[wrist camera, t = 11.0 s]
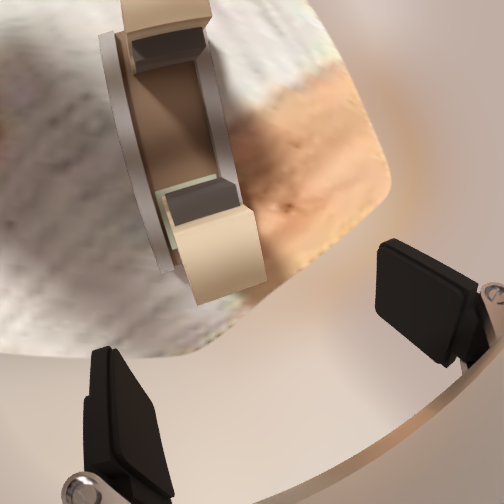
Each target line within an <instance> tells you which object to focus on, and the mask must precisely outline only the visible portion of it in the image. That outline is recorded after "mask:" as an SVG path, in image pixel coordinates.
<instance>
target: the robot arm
mask: <svg viewBox="0 0 504 504" xmlns="http://www.w3.org/2000/svg"><path fill="white" fill-rule="evenodd" d="M477 288H478V283H476V282H475V281H473V280H471V279H469V278H468V277H466V276H464V275H463V274H461V273H459V272H457V271H455V270H453V269H452V268H450V267H448V266H446V265H444V264H443V263H441V262H439V261H437V260H435V259H434V258H432V257H430V256H428V255H426V254H424V253H422V252H420V251H419V250H417V249H415V248H413V247H411V246H409V245H407V244H405V243H403V242H401V241H399V240H397V239H394V238H393V239H390V240H388V241H386V242H383V243H381V244H380V246H379V249H378V251H377V277H376V298H375V309H376V312H377V314H378V315H379V316H380V317H381V318H383V319H384V320H385V321H386V322H388V323H389V324H390V325H391V326H393V327H394V328H395V329H396V330H397V331H399V332H400V333H401V334H402V335H403V336H405V337H406V338H407V339H409V341H411V342H412V343H413V344H414V345H415V346H417V347H418V348H419V349H420V350H421V351H423V352H424V353H425V354H426V355H428V356H429V357H430V358H431V359H433V360H434V361H435V362H436V363H438V364H442V365H443V366H444V367H445V368H447V367H448V366H449V365H450V364H452V363H453V362H454V361H455V359H456V357H459V358H460V363H461V369H462V376H461V377H460V378H459V379H458V380H456V381H455V382H454V383H453V384H452V385H451V386H450V387H449V388H447V389H446V390H445V391H444V392H443V393H442V394H440V395H439V396H438V397H437V398H436V399H434V400H433V401H432V402H431V403H429V404H428V405H427V406H426V407H424V408H423V409H422V410H421V411H419V412H418V413H417V414H416V415H414V416H413V417H412V418H410V419H409V420H407V421H406V422H405V423H403V424H402V425H401V426H399V427H398V428H396V429H395V430H393V431H392V432H391V433H389V434H388V435H386V436H385V437H383V438H382V439H380V440H379V441H377V442H375V443H374V444H372V445H371V446H369V447H368V448H366V449H364V450H363V451H361V452H360V453H358V454H356V455H354V456H353V457H351V458H349V459H348V460H346V461H344V462H342V463H340V464H339V465H337V466H335V467H334V468H331V469H330V470H328V471H326V472H324V473H322V474H320V475H318V476H316V477H314V478H312V479H310V480H308V481H306V482H304V483H301V484H299V485H297V486H295V487H293V488H291V489H288V490H286V491H283V492H281V493H279V494H276V495H274V496H271V497H269V498H266V499H264V500H261V501H259V502H256V503H253V504H504V285H503V284H500V283H487V284H485V285H483V286H482V288H481V291H480V294H479V293H477ZM83 450H84V472H79V473H76V474H73V475H72V476H71V477H70V478H68V479H67V481H66V482H65V484H64V485H63V488H62V493H61V498H62V503H63V504H172V502H171V499H170V498H172V497H174V495H175V493H174V489H173V486H172V483H171V479H170V475H169V471H168V468H167V463H166V459H165V455H164V451H163V447H162V443H161V438H160V433H159V428H158V424H157V419H156V414H155V410H154V406H153V404H152V402H151V400H150V399H149V397H148V396H147V394H146V393H145V391H144V390H143V388H142V387H141V385H140V384H139V383H138V381H137V380H136V378H135V376H134V375H133V373H132V372H131V370H130V369H129V367H128V366H127V364H126V362H125V361H124V359H123V357H122V356H121V354H120V352H119V351H118V350H117V349H116V348H115V349H112V348H111V347H110V346H106V347H103V348H100V349H96V350H93V351H92V355H91V368H90V387H89V396H86V397H85V399H84V410H83Z"/></svg>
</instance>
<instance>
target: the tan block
mask: <svg viewBox="0 0 504 504" xmlns="http://www.w3.org/2000/svg"><path fill="white" fill-rule="evenodd" d="M162 200H163V203H164V207H165V210H166V213H167V217H168V220H169V223H170V227H171V230H172V233H173V236H174V240H175V243H176V246H177V249H178V252H179V255H180V258H181V261H182V264H183V266H184V269H185V272H186V275H187V278H188V281H189V284H190V286H191V289H192V292H193V295H194V298H195V300H196V303H197V306H198V305H201V304H204V303H207V302H210V301H213V300H216V299H218V298H221V297H224V296H227V295H230V294H232V293H235V292H238V291H241V290H244V289H246V288H249V287H252V286H255V285H257V284H260V283H263V282H266V281H267V276H266V271H265V266H264V261H263V256H262V251H261V246H260V241H259V236H258V231H257V226H256V221H255V216H254V212H253V211H252V210H250V209H249V208H248V207H246V206H245V205H243V204H242V203H240V202H239V197H238V193H237V188H236V184H234V183H232V182H230V181H228V180H226V179H224V178H222V177H220V178H216V179H213V180H209V181H206V182H202V183H199V184H195V185H192V186H189V187H185V188H182V189H179V190H176V191H172V192H169V193H166V194H165V196H162Z"/></svg>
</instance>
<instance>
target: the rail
mask: <svg viewBox="0 0 504 504" xmlns="http://www.w3.org/2000/svg"><path fill="white" fill-rule="evenodd" d="M120 1H121V9H122V17H123V24H124V31H122V32H119V33H115V34H114V31H110V32H107V33H104V34H101V35H98V37H99V44H100V50H101V56H102V62H103V67H104V73H105V78H106V83H107V88H108V93H109V97H110V102H111V107H112V111H113V115H114V120H115V124H116V128H117V132H118V136H119V140H120V144H121V148H122V152H123V156H124V159H125V163H126V167H127V170H128V174H129V177H130V181H131V184H132V188H133V191H134V194H135V198H136V201H137V204H138V207H139V211H140V214H141V217H142V220H143V223H144V226H145V229H146V232H147V235H148V238H149V241H150V244H151V247H152V250H153V253H154V255H155V258H156V261H157V264H158V267H159V269H160V272H161V274H164V273H167V272H170V271H173V270H175V268H174V266H175V265H178V264H181V263H182V261H181V258H180V255H179V252H178V249H177V246H176V243H175V240H174V236H173V233H172V230H171V227H170V223H169V220H168V217H167V213H166V210H165V207H164V203H163V200H162V196H165V194H166V193H169V192H172V191H176V190H179V189H182V188H185V187H189V186H192V185H195V184H199V183H202V182H206V181H209V180H213V179H216V178H220V177H222V178H224V179H226V180H228V181H230V182H232V183H234V184H236V188H237V193H238V197H239V202H240V203H242V204H243V201H242V197H241V192H240V187H239V183H238V178H237V173H236V169H235V164H234V159H233V155H232V150H231V145H230V141H229V136H228V131H227V127H226V122H225V118H224V113H223V108H222V104H221V99H220V94H219V90H218V85H217V80H216V76H215V71H214V66H213V62H212V57H211V53H210V48H209V43H208V39H207V34H206V29H205V27H206V25H207V24H208V22H209V21H210V19H211V18H212V12H211V8H210V3H209V0H120Z"/></svg>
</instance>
